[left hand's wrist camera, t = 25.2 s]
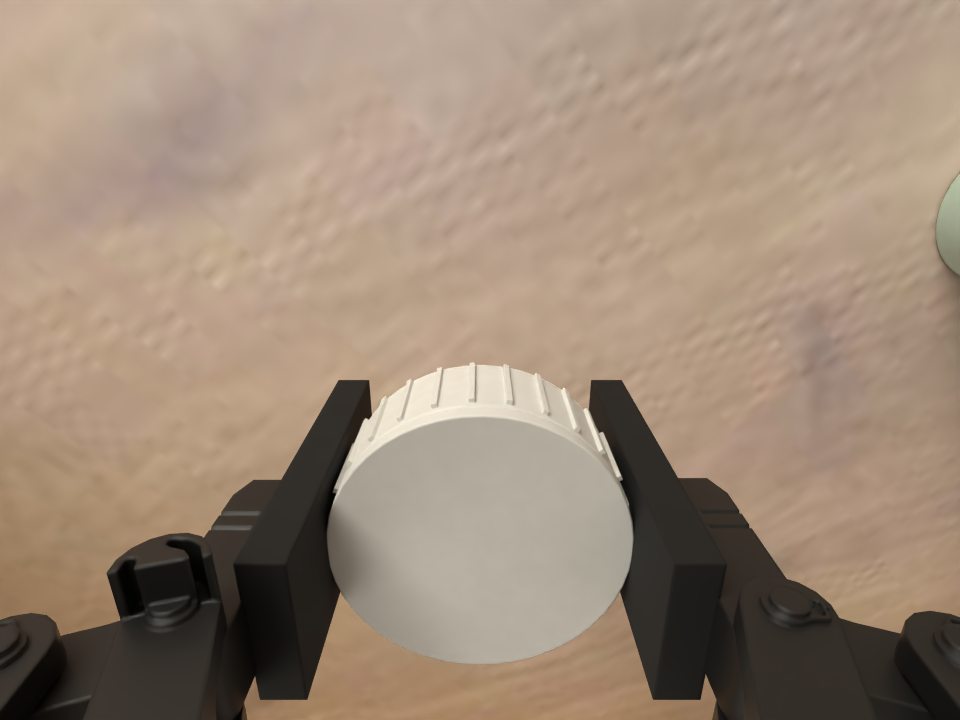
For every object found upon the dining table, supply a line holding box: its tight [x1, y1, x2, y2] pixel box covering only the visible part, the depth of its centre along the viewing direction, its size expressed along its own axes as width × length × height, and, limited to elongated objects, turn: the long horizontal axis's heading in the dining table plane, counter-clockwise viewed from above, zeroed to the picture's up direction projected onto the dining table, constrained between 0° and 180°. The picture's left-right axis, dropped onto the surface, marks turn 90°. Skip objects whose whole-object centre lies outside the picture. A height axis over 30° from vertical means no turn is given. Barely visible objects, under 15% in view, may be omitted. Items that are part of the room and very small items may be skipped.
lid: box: [327, 363, 634, 665], centre depth 11 cm, size 6×6×2 cm
